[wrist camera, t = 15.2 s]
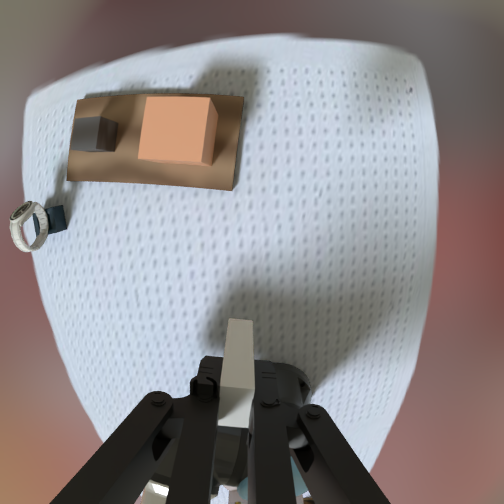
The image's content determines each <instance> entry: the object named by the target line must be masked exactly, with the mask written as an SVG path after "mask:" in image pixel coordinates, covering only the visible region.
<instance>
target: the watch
mask: <svg viewBox="0 0 504 504" xmlns="http://www.w3.org/2000/svg"><path fill="white" fill-rule="evenodd" d="M34 212H35V213H34ZM32 215H33V221H34V226H35V232H36V237H37V238H36V240H35V241H34V243H33V244H32V245H31V246H30V247H29V246H28V245H26V243H25V242H24V240H23V238H22V235H21V231H20V226H23V224H24V222H25V221H27V220H28V219H29V218H30V217H31V216H32ZM10 221H11V223H10V229H11V235H12V239H13V241H14V243H15V245H16V246H17V247H18V248H19V249H20V250H22V251H24V252H29V251H35V250H38V249H40V248H41V247H42V245H43V244H44V242H45V241H46V239H47V237H48V234H53V233H57V232H60V231H63V230H66V229H67V227H66V221H65V216H64V210H63V205H61V206H56V207H52V208H48V209H45V210H44V208H43V207H42V206H41V205H40V204H39V203H37V202H34V203H33V202H32V201H28V202H25V203H24V204H22V205H21V206H19V207H18V208H17V209H16V210H15V211H14V212H13V213H12V215H11V217H10Z"/></svg>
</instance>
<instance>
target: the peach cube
mask: <svg viewBox="0 0 504 504" xmlns="http://www.w3.org/2000/svg"><path fill="white" fill-rule="evenodd" d="M217 122H218V113H217V111H216V109H215V107H214V105H213V103H212V101H211V99H210V98H207V97H147V100H146V105H145V111H144V117H143V123H142V130H141V137H140V145H139V153H138V159H142V160H148V161H153V162H159V163H174V164H189V165H202V166H212V160H213V152H214V144H215V136H216V129H217Z"/></svg>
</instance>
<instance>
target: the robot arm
mask: <svg viewBox="0 0 504 504" xmlns="http://www.w3.org/2000/svg"><path fill="white" fill-rule="evenodd" d="M311 397H312V391H311V387H310V383H309V380H308V378H307V377H306V375H305V374H304V373H303V372H302V371H301V370H299V369H298V368H296V367H293V366H291V365H288V364H283V363H272V362H271V361H262V360H254V345H253V320H243V319H233V318H229V320H228V328H227V335H226V343H225V350H224V357H214V356H205V357H204V358H203V359H202V360H201V362H200V366H199V370H198V374H197V376H195V377H194V378H192V379H191V381H190V395H188V396H186V397H183V398H172V397H171V396H170V395H169V394H167V393H165V392H162V391H153V392H150V393H148V394H147V395H146V396H145V397H144V398H143V399H142V400H141V401H140V402H139V404H138V405H137V406H136V407H135V408H134V409H133V410H132V412H131V413H130V414H129V415H128V416H127V417H126V418H125V420H124V421H123V422H122V423H121V424H120V425H119V426H118V428H117V429H116V430H115V431H114V432H113V433H112V434H111V436H110V437H109V438H108V439H107V440H106V441H105V442H104V443H103V445H102V446H101V447H100V448H99V449H98V450H97V451H96V452H95V454H94V455H93V456H92V457H91V458H90V459H89V460H88V461H87V463H86V464H85V465H84V466H83V467H82V468H81V469H80V470H79V472H78V473H77V474H76V475H75V476H74V477H73V478H72V479H71V480H70V482H69V483H68V484H67V485H66V486H65V487H64V488H63V489H62V490H61V491H60V493H59V494H58V495H57V496H56V497H55V498H54V499H53V500H52V501H51V502H50V504H134V503H135V501H136V500H137V498H138V497H139V495H140V494H141V492H142V491H143V495H142V499H141V503H140V504H210V500H211V499H213V498H215V497H216V496H217V495H218V491H219V486H220V485H225V486H231V487H237V492H238V494H239V496H240V497H241V498H242V499H244V500H247V501H248V504H297V502H296V497H297V496H299V495H301V494H303V493H305V492H307V491H309V493H310V495H311V497H312V498H313V500H314V502H315V504H391V503H390V502H389V501H388V499H387V498H386V496H385V495H384V494H383V492H382V491H381V489H380V488H379V487H378V485H377V484H376V482H375V481H374V479H373V478H372V477H371V475H370V474H369V472H368V471H367V470H366V468H365V467H364V465H363V464H362V462H361V461H360V460H359V458H358V457H357V455H356V454H355V452H354V451H353V449H352V448H351V446H350V445H349V444H348V442H347V441H346V439H345V438H344V436H343V435H342V433H341V432H340V430H339V429H338V427H337V426H336V424H335V423H334V422H333V420H332V419H331V417H330V416H329V414H328V413H327V411H326V410H325V409H324V408H323V407H321V406H319V405H315V404H310V402H311ZM143 489H144V490H143Z"/></svg>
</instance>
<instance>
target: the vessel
mask: <svg viewBox="0 0 504 504" xmlns="http://www.w3.org/2000/svg"><path fill="white" fill-rule="evenodd" d="M303 502H304V504H315V502H314V500H313V499H312V498H304V499H303Z"/></svg>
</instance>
